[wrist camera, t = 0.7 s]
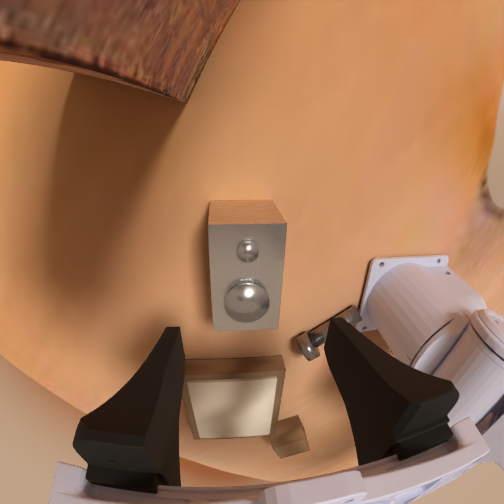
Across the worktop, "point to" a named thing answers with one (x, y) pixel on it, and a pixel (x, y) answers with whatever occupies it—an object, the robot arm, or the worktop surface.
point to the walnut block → (289, 437)
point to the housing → (246, 264)
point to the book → (117, 39)
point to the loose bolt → (323, 334)
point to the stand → (233, 396)
